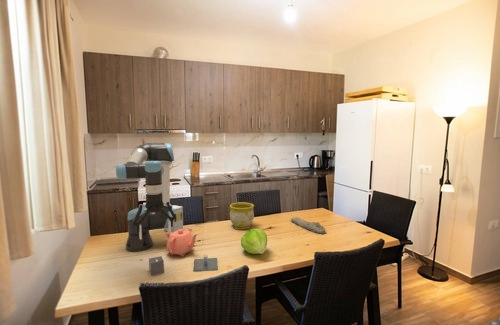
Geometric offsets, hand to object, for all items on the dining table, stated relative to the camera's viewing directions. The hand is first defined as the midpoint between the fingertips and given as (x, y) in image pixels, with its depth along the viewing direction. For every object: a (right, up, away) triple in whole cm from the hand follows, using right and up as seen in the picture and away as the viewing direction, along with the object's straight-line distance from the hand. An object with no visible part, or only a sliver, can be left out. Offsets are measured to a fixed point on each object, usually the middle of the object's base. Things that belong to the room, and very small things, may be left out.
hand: (155, 236), depth 132 cm
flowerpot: (+40, -12, +68) cm, 80 cm away
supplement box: (-8, -13, +61) cm, 63 cm away
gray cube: (0, -18, +2) cm, 18 cm away
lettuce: (+49, -16, +23) cm, 57 cm away
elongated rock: (+89, -13, +69) cm, 113 cm away
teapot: (+8, -16, +24) cm, 30 cm away
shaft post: (+23, -17, +8) cm, 30 cm away
